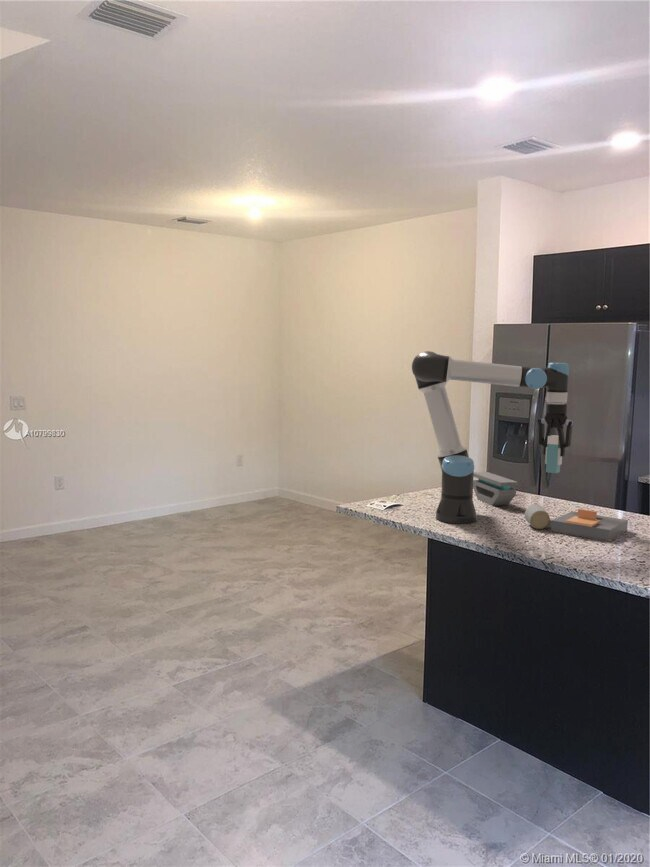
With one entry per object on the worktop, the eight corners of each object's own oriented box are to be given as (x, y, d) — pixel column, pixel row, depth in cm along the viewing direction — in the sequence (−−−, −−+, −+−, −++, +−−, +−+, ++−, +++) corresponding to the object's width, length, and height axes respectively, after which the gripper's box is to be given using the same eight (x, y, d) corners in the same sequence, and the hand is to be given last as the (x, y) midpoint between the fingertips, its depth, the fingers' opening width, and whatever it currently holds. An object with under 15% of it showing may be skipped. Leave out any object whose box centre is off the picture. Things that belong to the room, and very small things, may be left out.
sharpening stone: (470, 496, 306) (471, 472, 305) (486, 496, 309) (487, 472, 307) (499, 509, 282) (500, 482, 281) (516, 508, 285) (518, 482, 283)
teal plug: (556, 473, 265) (558, 436, 264) (545, 472, 268) (547, 436, 266) (559, 472, 269) (561, 436, 267) (549, 470, 271) (551, 435, 269)
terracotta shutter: (592, 526, 236) (592, 515, 236) (565, 522, 242) (566, 511, 242) (600, 522, 243) (601, 511, 243) (575, 518, 249) (575, 507, 249)
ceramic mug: (529, 529, 249) (531, 508, 248) (523, 524, 257) (525, 503, 256) (559, 531, 249) (561, 510, 248) (552, 525, 257) (554, 505, 256)
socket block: (609, 541, 234) (609, 529, 234) (551, 531, 247) (551, 520, 247) (627, 530, 250) (627, 519, 249) (571, 521, 262) (572, 511, 262)
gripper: (582, 404, 263) (579, 465, 265) (538, 401, 274) (535, 460, 276) (575, 405, 257) (572, 467, 260) (531, 402, 268) (528, 462, 270)
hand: (553, 464), depth 268 cm, fingers closed on teal plug, 4 cm apart
